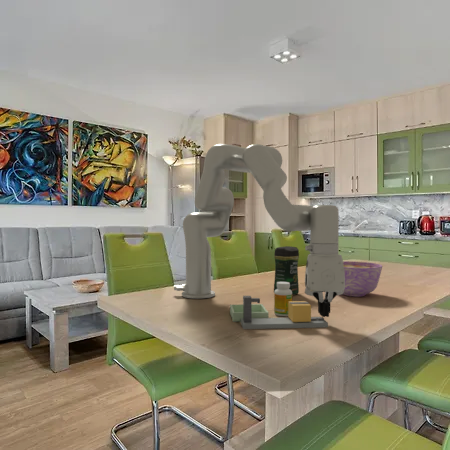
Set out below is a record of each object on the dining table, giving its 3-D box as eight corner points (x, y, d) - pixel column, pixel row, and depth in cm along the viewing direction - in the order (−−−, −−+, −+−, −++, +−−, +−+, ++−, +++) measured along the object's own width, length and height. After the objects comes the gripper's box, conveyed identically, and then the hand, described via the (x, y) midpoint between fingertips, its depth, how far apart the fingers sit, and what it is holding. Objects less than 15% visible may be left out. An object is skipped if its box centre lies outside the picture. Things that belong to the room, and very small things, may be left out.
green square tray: (232, 321, 103) (232, 313, 103) (229, 312, 114) (229, 304, 114) (268, 321, 104) (268, 312, 104) (262, 312, 114) (262, 304, 114)
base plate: (243, 329, 97) (243, 322, 97) (240, 322, 103) (240, 316, 103) (327, 327, 98) (327, 320, 98) (320, 320, 104) (320, 315, 104)
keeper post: (244, 327, 99) (244, 297, 98) (243, 324, 101) (243, 295, 101) (260, 326, 99) (260, 297, 99) (258, 324, 101) (258, 295, 101)
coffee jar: (286, 297, 135) (286, 247, 135) (270, 294, 141) (270, 246, 141) (302, 294, 141) (302, 246, 141) (286, 291, 147) (286, 245, 147)
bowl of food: (317, 294, 140) (318, 264, 140) (341, 287, 155) (341, 260, 155) (370, 302, 127) (370, 269, 127) (390, 293, 141) (390, 264, 141)
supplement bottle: (288, 317, 108) (288, 284, 108) (271, 315, 111) (271, 283, 111) (294, 313, 112) (294, 282, 112) (278, 311, 115) (278, 280, 115)
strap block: (292, 321, 98) (292, 305, 98) (288, 316, 103) (288, 300, 103) (311, 321, 98) (311, 304, 98) (305, 316, 103) (305, 300, 103)
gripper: (301, 251, 97) (301, 320, 97) (356, 250, 98) (356, 318, 98) (294, 248, 104) (294, 312, 104) (345, 248, 105) (345, 311, 105)
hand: (324, 315), depth 101 cm, fingers closed
